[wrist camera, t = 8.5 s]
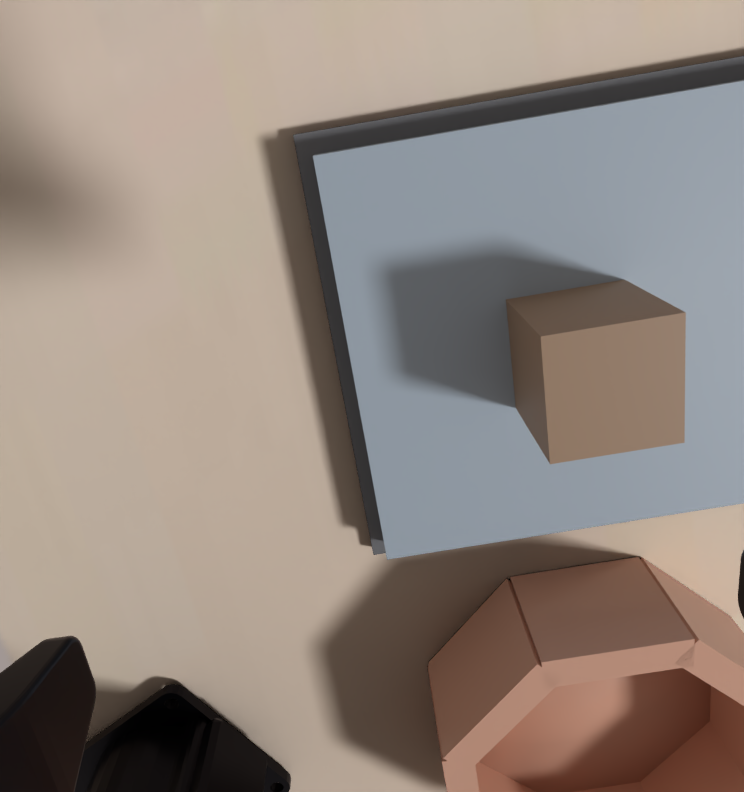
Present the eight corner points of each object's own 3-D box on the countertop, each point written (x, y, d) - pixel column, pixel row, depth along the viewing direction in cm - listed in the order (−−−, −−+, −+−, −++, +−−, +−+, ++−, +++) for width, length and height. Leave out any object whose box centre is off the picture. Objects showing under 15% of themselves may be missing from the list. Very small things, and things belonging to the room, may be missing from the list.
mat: (764, 485, 22) (771, 492, 22) (373, 547, 23) (373, 554, 22) (791, 48, 17) (800, 46, 17) (294, 134, 18) (293, 134, 17)
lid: (755, 482, 22) (853, 567, 17) (385, 541, 22) (394, 638, 18) (777, 73, 17) (915, 55, 13) (314, 154, 18) (304, 162, 13)
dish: (725, 772, 27) (785, 875, 23) (452, 812, 27) (469, 920, 24) (735, 541, 23) (810, 621, 19) (414, 591, 23) (427, 679, 20)
